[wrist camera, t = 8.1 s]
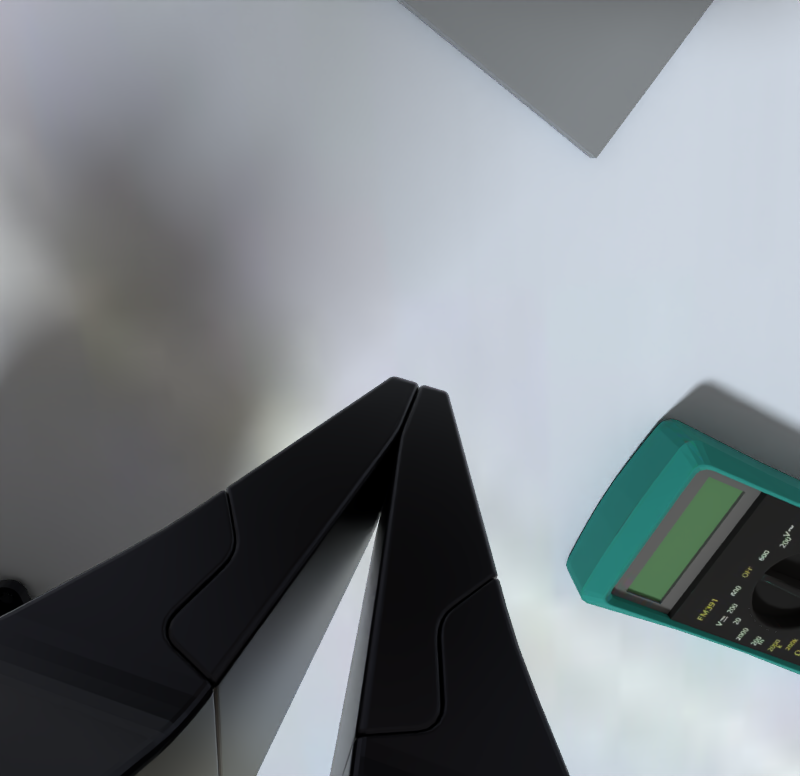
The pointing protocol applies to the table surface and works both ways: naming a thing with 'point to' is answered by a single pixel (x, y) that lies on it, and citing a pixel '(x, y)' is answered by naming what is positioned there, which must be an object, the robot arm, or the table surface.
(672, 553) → the digital multimeter
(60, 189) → the table surface
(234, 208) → the table surface
